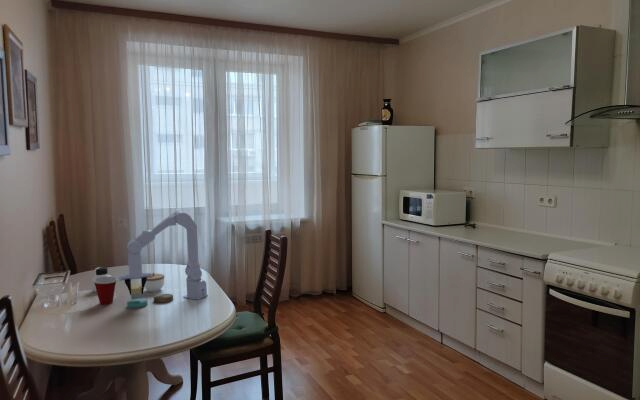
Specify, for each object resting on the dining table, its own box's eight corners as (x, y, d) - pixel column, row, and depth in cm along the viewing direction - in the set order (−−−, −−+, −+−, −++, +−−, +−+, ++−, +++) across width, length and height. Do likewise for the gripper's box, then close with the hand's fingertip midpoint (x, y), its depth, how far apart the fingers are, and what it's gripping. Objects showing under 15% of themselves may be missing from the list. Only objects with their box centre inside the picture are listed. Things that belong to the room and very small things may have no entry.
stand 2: (177, 298, 235) (176, 294, 235) (163, 304, 227) (163, 300, 227) (163, 296, 239) (163, 292, 238) (149, 301, 231) (149, 297, 230)
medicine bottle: (112, 287, 256) (111, 266, 254) (105, 291, 249) (103, 269, 247) (99, 287, 256) (98, 266, 255) (92, 291, 249) (90, 269, 248)
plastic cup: (109, 307, 224) (108, 282, 222) (89, 305, 226) (88, 281, 225) (123, 299, 234) (122, 276, 233) (104, 298, 236) (102, 275, 235)
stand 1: (151, 303, 228) (151, 299, 227) (137, 309, 219) (136, 305, 219) (137, 301, 231) (137, 297, 231) (123, 307, 223) (122, 302, 223)
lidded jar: (151, 294, 242) (150, 276, 241) (139, 291, 249) (138, 273, 248) (169, 289, 251) (168, 272, 250) (157, 286, 257) (156, 269, 256)
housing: (141, 298, 222) (141, 288, 222) (131, 299, 221) (130, 289, 220) (142, 294, 229) (141, 284, 228) (132, 295, 227) (131, 285, 227)
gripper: (151, 262, 230) (152, 289, 231) (119, 265, 225) (120, 293, 226) (151, 265, 223) (152, 293, 224) (118, 268, 218) (119, 297, 220)
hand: (136, 293), depth 225 cm, fingers closed on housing, 4 cm apart
